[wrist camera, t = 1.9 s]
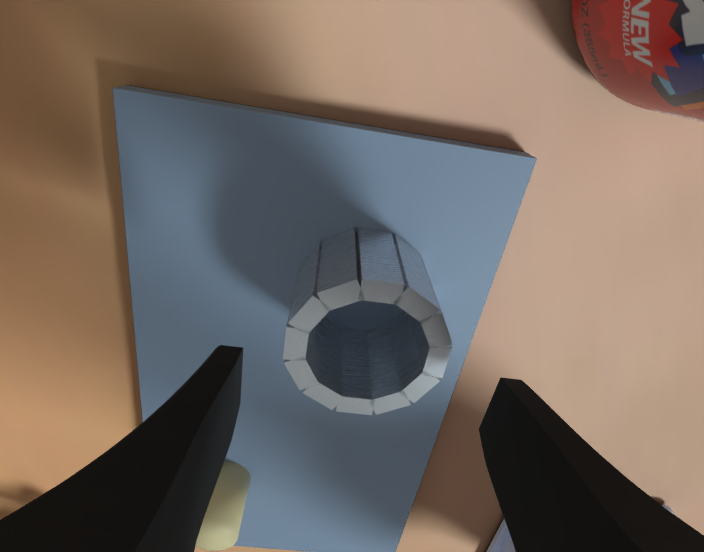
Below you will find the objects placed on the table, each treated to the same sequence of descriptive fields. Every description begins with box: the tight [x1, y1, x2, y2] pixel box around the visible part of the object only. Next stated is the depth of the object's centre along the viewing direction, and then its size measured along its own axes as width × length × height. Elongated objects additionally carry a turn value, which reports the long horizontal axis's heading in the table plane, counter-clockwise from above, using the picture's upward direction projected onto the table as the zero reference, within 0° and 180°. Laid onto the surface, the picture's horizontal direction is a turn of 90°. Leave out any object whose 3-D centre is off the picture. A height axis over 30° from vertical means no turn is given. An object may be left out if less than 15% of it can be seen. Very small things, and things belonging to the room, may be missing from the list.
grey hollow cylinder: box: [283, 227, 453, 415], centre depth 15 cm, size 5×5×4 cm
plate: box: [113, 85, 537, 552], centre depth 19 cm, size 14×24×4 cm, turn 171°
